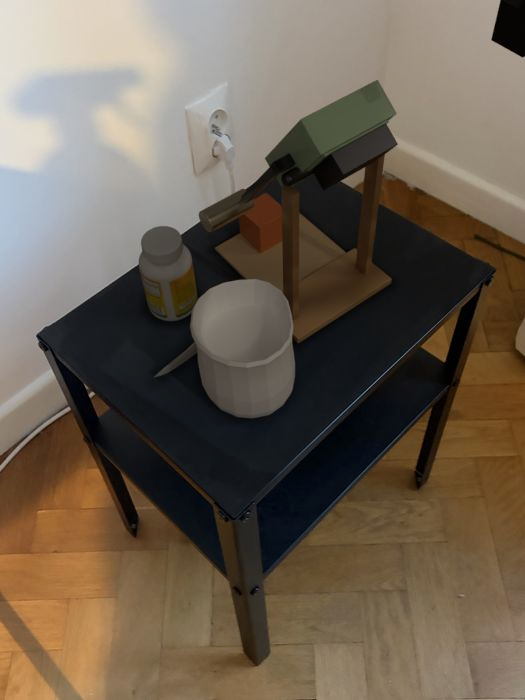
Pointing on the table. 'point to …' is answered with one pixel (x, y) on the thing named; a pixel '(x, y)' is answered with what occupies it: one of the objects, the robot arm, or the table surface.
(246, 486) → the table surface
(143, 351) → the table surface
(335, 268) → the scoop stand
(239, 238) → the mat
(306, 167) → the tilting tray
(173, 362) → the pocket knife
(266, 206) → the block
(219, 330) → the cup
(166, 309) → the supplement bottle
